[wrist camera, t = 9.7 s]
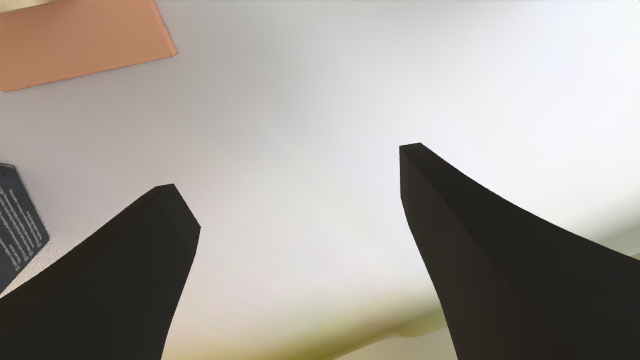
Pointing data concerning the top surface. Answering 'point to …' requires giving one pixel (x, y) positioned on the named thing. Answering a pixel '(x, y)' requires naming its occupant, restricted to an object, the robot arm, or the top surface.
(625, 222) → the top surface
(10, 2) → the label block
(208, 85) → the top surface
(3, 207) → the box
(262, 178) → the top surface
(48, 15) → the mat
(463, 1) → the top surface
